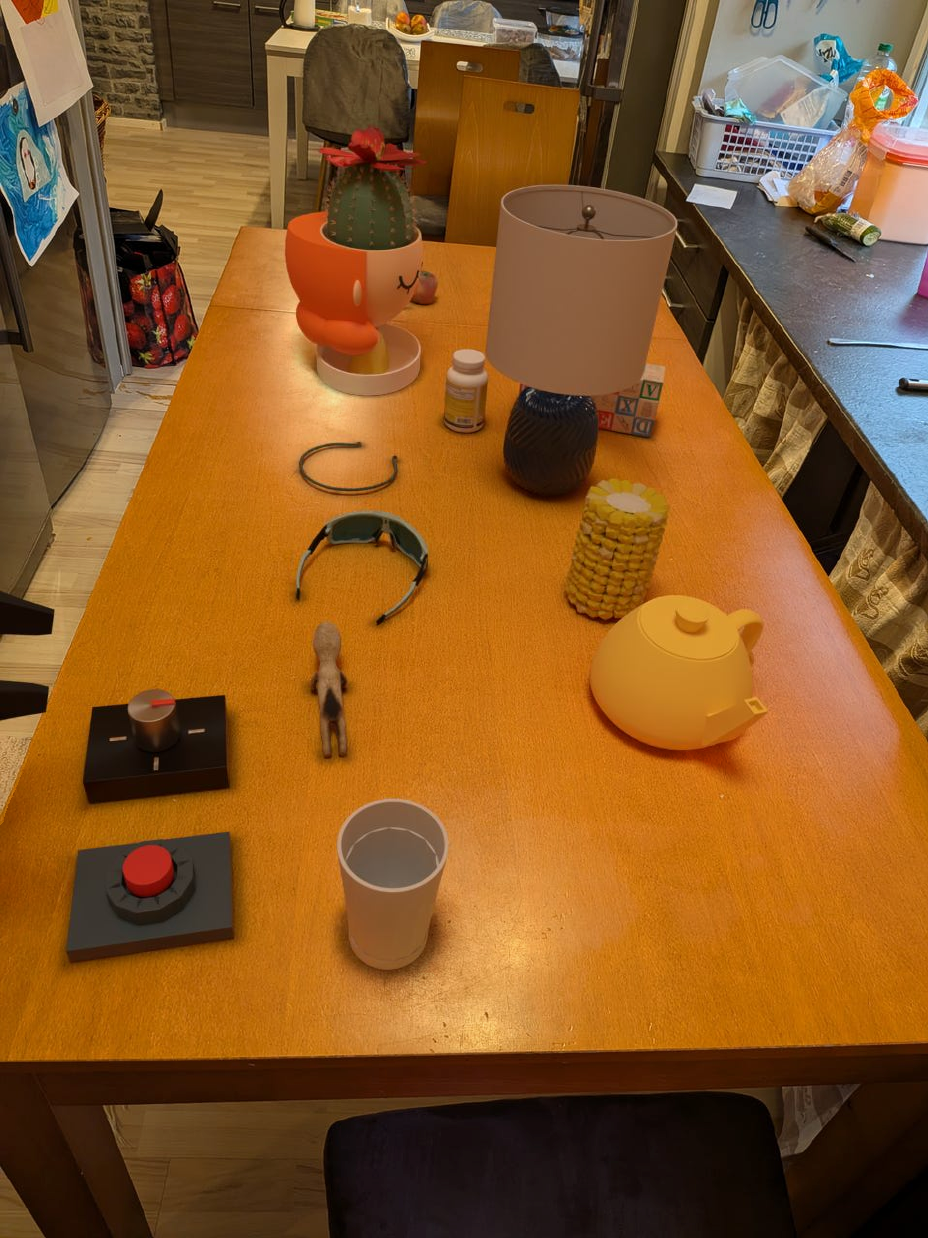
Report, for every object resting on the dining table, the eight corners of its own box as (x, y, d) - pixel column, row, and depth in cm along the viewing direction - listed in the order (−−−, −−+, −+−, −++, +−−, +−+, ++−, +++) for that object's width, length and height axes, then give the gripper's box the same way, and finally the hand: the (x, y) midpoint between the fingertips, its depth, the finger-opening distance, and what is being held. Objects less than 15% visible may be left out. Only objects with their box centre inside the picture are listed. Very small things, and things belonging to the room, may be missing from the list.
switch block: (70, 963, 68) (60, 938, 65) (82, 862, 74) (73, 836, 72) (233, 938, 70) (229, 914, 68) (231, 843, 77) (227, 818, 75)
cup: (347, 990, 68) (347, 902, 60) (330, 899, 74) (328, 807, 66) (449, 968, 70) (461, 880, 62) (425, 880, 76) (433, 790, 68)
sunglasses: (442, 556, 110) (442, 526, 107) (394, 641, 101) (393, 611, 97) (338, 527, 113) (335, 496, 110) (281, 606, 104) (276, 576, 100)
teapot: (557, 667, 97) (577, 574, 89) (700, 631, 104) (730, 541, 95) (659, 808, 84) (693, 714, 75) (815, 756, 90) (862, 664, 82)
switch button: (124, 900, 68) (120, 888, 67) (127, 861, 71) (124, 848, 70) (173, 894, 69) (170, 881, 68) (174, 855, 72) (172, 842, 71)
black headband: (415, 467, 126) (416, 461, 125) (355, 507, 117) (355, 500, 116) (341, 435, 131) (341, 429, 130) (278, 470, 122) (278, 464, 121)
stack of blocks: (653, 420, 143) (671, 347, 135) (650, 439, 138) (668, 363, 130) (522, 396, 146) (532, 322, 138) (515, 413, 141) (525, 338, 133)
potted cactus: (427, 345, 157) (440, 123, 135) (408, 403, 140) (419, 160, 118) (307, 330, 158) (299, 106, 135) (273, 386, 141) (258, 141, 118)
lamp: (470, 515, 118) (501, 223, 94) (473, 439, 134) (501, 172, 110) (622, 528, 119) (692, 242, 95) (608, 451, 134) (665, 188, 110)
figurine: (353, 765, 87) (342, 639, 96) (354, 743, 83) (342, 614, 92) (315, 769, 86) (307, 641, 95) (314, 746, 83) (306, 616, 91)
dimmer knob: (133, 754, 79) (125, 721, 77) (135, 721, 82) (128, 688, 79) (180, 749, 80) (174, 716, 77) (181, 717, 83) (175, 684, 80)
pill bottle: (469, 411, 140) (475, 343, 133) (491, 429, 136) (499, 360, 129) (435, 419, 137) (440, 350, 130) (456, 437, 134) (462, 367, 126)
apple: (400, 306, 170) (401, 275, 166) (410, 292, 176) (412, 261, 172) (430, 312, 169) (432, 280, 165) (440, 297, 175) (442, 266, 171)
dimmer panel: (89, 804, 79) (82, 781, 77) (97, 728, 85) (91, 705, 83) (229, 788, 81) (226, 765, 79) (227, 716, 88) (224, 693, 86)
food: (554, 619, 106) (585, 579, 113) (651, 638, 100) (677, 594, 108) (548, 501, 98) (582, 466, 105) (653, 514, 92) (681, 476, 100)
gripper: (-214, 686, 51) (50, 699, 56) (-160, 525, 60) (60, 550, 66) (-204, 763, 55) (40, 767, 61) (-155, 601, 64) (52, 618, 70)
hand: (50, 659), depth 64 cm, fingers open, 7 cm apart
